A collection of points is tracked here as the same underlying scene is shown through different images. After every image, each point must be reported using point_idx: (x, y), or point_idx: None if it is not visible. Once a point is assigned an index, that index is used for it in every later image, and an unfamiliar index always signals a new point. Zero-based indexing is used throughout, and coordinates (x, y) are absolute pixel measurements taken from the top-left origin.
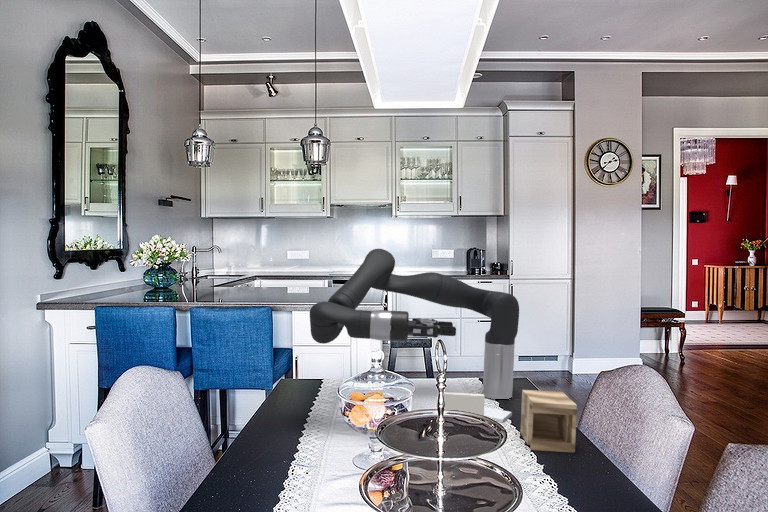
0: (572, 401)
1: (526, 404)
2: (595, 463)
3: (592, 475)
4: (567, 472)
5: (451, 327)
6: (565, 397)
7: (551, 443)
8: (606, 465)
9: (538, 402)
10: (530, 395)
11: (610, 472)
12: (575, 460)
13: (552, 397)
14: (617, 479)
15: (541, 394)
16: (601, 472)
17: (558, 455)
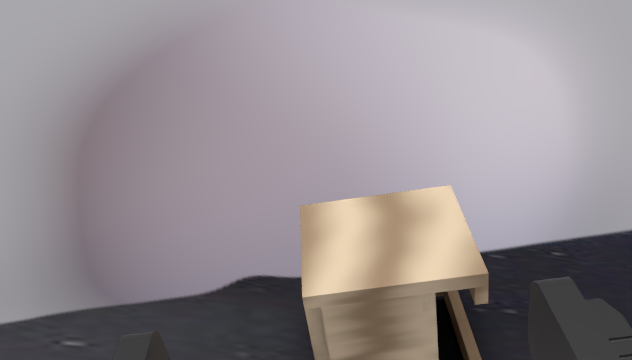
0: (413, 191)
1: (389, 313)
2: (511, 267)
3: (602, 280)
4: None
5: (588, 310)
6: (370, 201)
7: (470, 328)
8: (512, 251)
9: (476, 260)
10: (385, 276)
11: (555, 250)
12: (514, 300)
13: (385, 227)
14: (593, 244)
15: (355, 249)
16: (567, 264)
17: (496, 332)
